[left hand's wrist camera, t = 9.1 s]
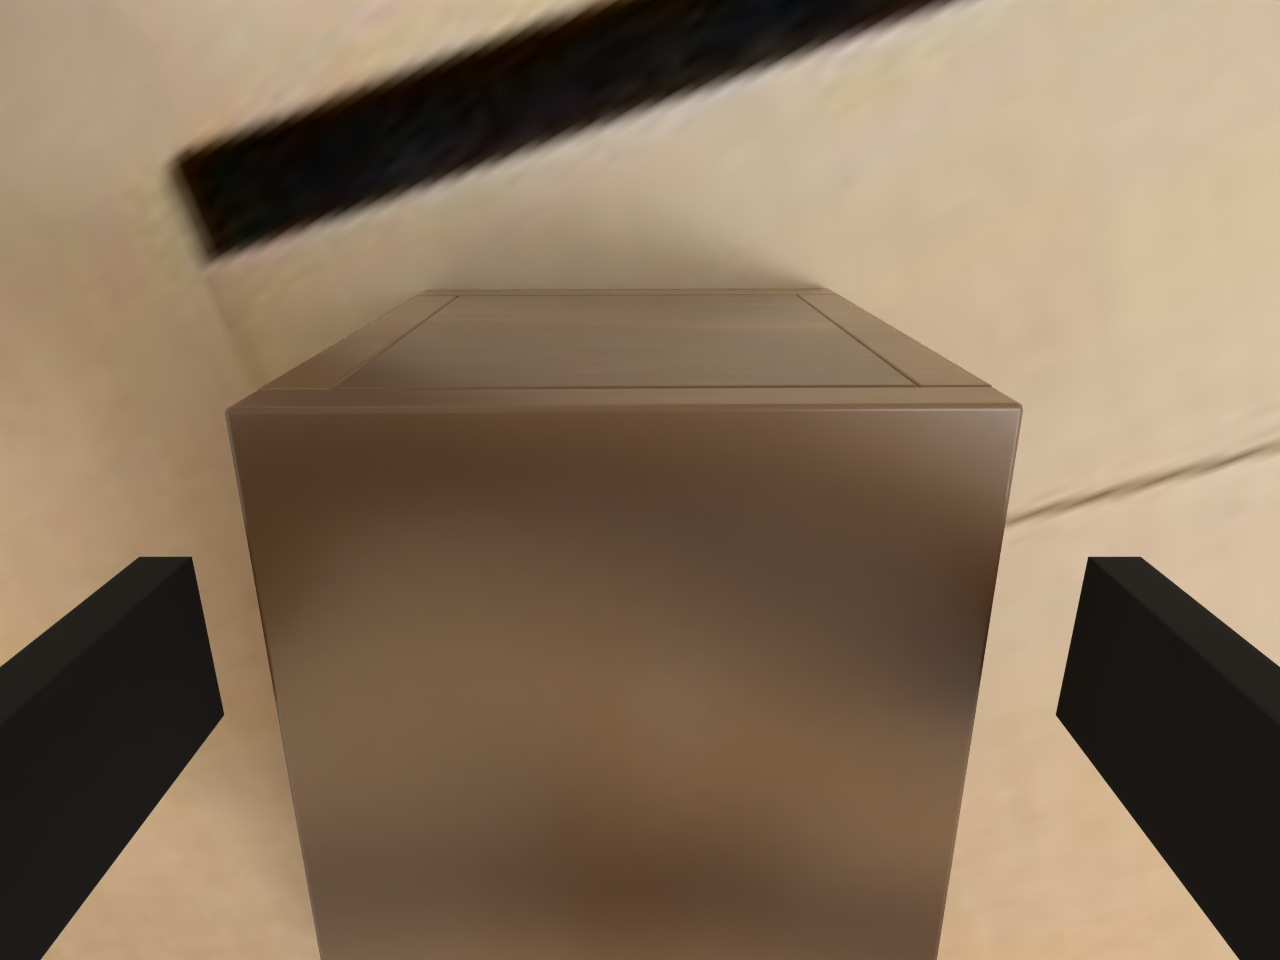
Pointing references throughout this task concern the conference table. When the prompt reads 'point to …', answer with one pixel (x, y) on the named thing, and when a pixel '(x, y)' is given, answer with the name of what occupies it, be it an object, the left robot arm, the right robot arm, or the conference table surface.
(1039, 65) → the conference table surface
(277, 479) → the cabinet
